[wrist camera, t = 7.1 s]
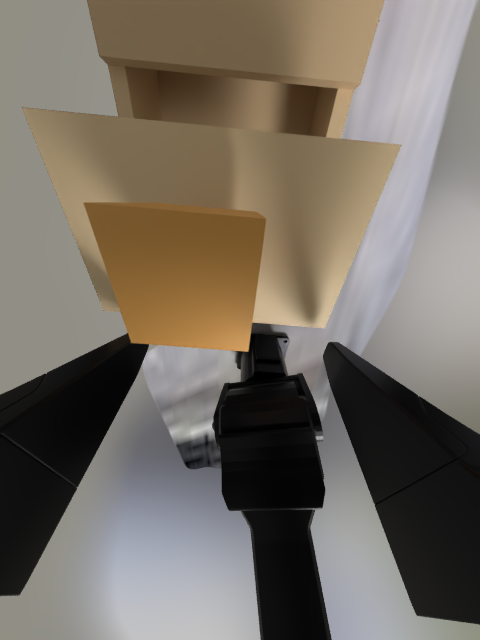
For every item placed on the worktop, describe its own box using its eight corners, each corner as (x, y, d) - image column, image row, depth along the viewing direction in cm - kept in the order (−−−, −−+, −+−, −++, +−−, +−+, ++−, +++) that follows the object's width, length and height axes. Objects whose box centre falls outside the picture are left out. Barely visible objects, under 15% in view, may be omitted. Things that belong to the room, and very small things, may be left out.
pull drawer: (320, 321, 10) (375, 408, 6) (110, 305, 10) (8, 382, 6) (388, 149, 6) (715, 26, 2) (41, 115, 6) (-488, -110, 2)
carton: (294, 238, 17) (312, 251, 12) (168, 227, 17) (138, 236, 12) (367, -91, 9) (505, -424, 4) (123, -121, 9) (-24, -507, 4)
